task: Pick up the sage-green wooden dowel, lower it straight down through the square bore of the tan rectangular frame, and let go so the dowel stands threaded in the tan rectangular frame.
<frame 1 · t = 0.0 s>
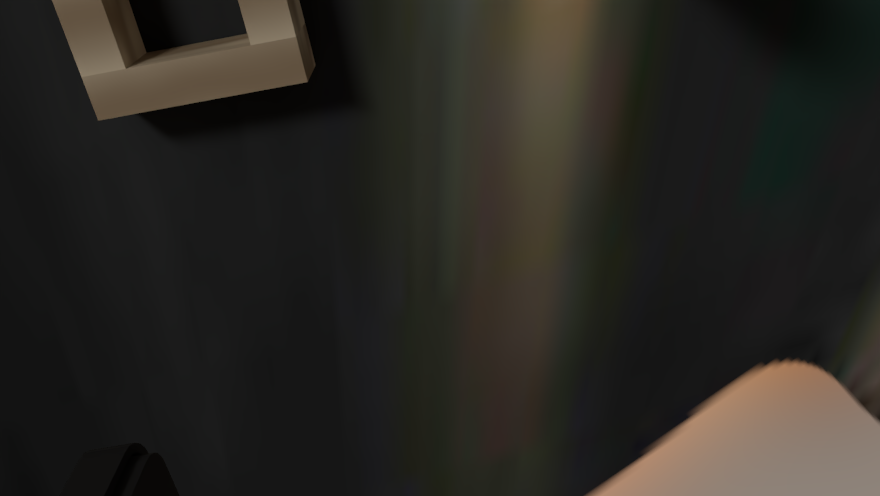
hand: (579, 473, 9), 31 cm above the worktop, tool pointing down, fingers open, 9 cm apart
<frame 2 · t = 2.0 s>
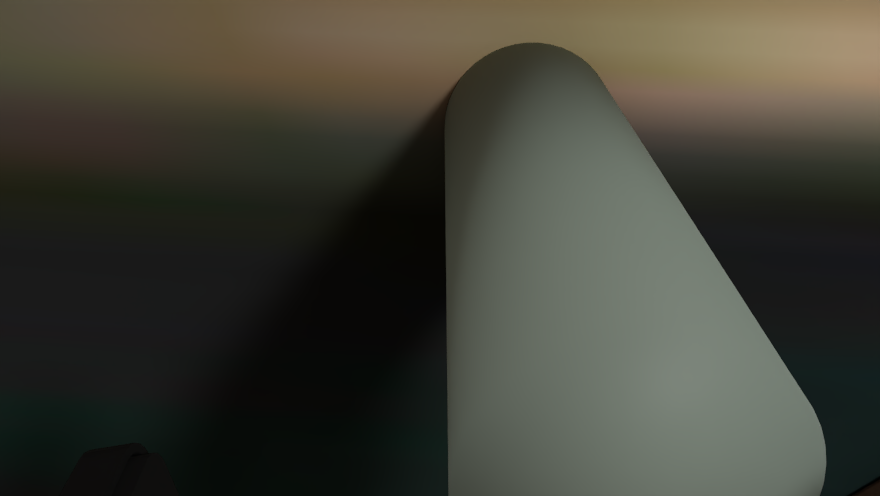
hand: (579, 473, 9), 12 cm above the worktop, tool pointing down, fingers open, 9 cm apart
dowel: (528, 126, 19), on the worktop
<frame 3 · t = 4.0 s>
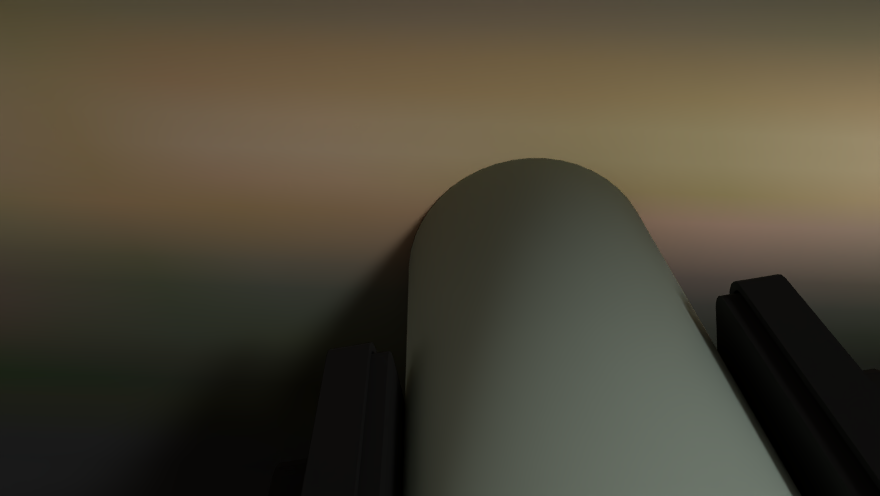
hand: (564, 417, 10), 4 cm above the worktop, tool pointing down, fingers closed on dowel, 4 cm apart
dowel: (528, 271, 14), on the worktop, touching gripper
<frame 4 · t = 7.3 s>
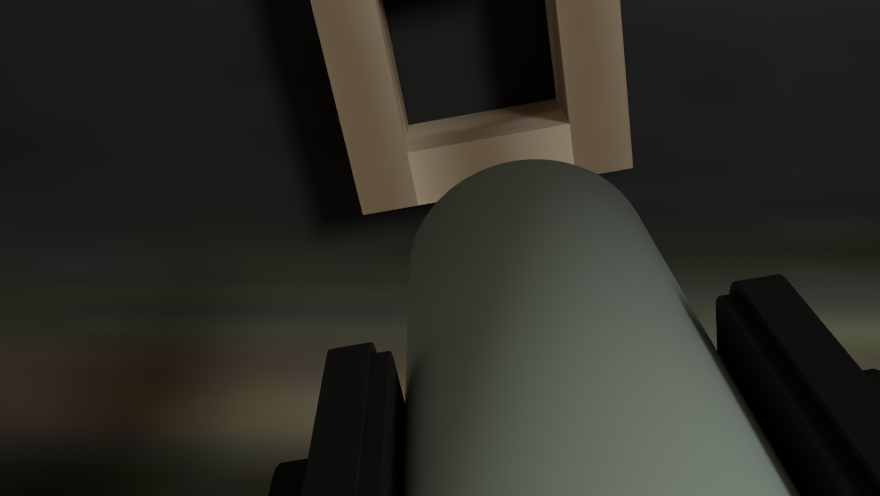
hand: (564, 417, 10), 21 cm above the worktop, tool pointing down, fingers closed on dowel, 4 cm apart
tan rectangular frame: (469, 37, 29), on the worktop
dowel: (528, 272, 14), point 17 cm above the worktop, touching gripper
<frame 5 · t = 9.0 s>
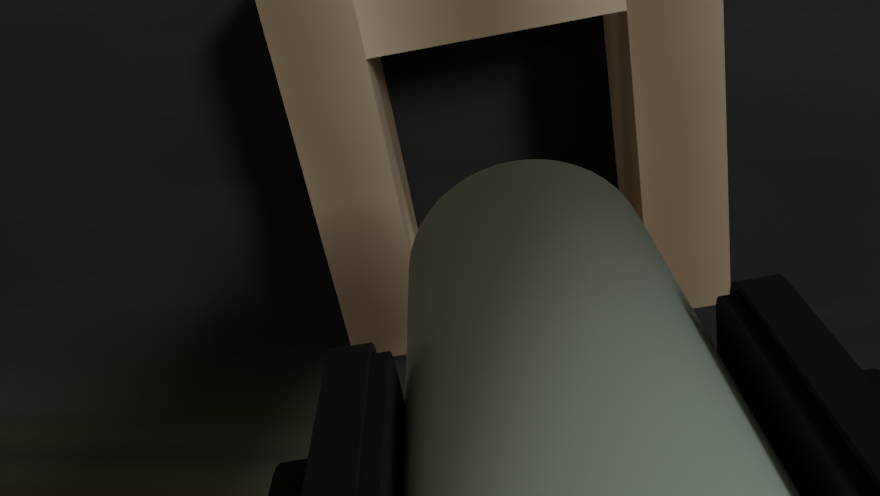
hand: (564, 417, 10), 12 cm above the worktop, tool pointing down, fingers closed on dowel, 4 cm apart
tan rectangular frame: (502, 117, 21), on the worktop
dowel: (528, 272, 14), point 9 cm above the worktop, touching gripper
when the fingers open (5 cm above the worktop, at t = 10.6 s): dowel drops 1 cm, resting in tan rectangular frame.
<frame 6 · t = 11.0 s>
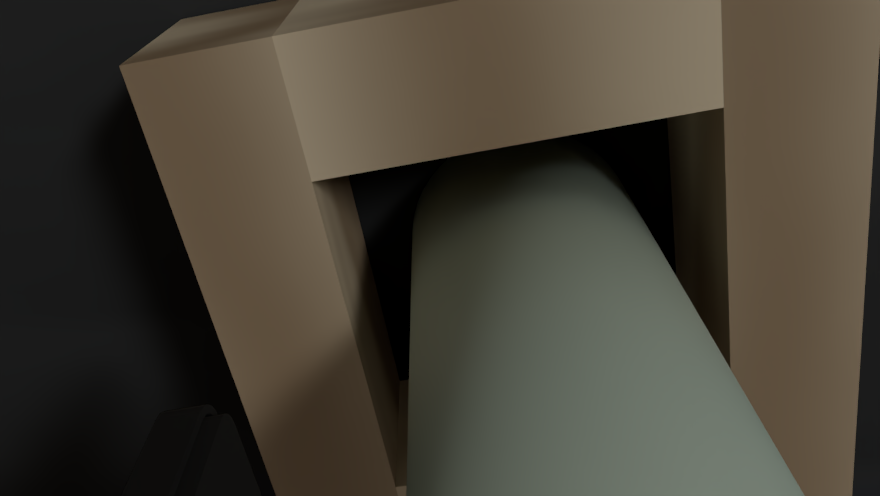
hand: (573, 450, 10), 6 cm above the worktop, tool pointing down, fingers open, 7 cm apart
tan rectangular frame: (518, 233, 15), on the worktop
dowel: (521, 233, 15), resting in tan rectangular frame
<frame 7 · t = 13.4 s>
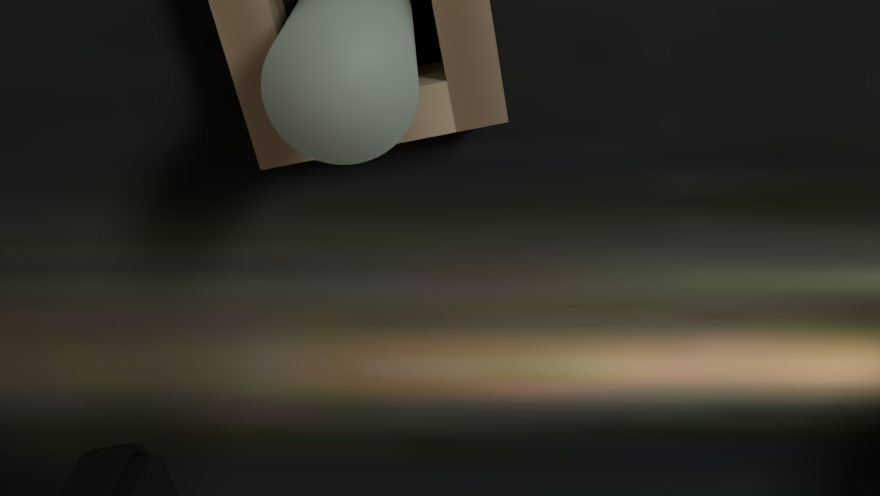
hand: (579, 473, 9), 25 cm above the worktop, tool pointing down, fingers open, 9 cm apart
tan rectangular frame: (358, 4, 31), on the worktop
dowel: (359, 4, 31), resting in tan rectangular frame
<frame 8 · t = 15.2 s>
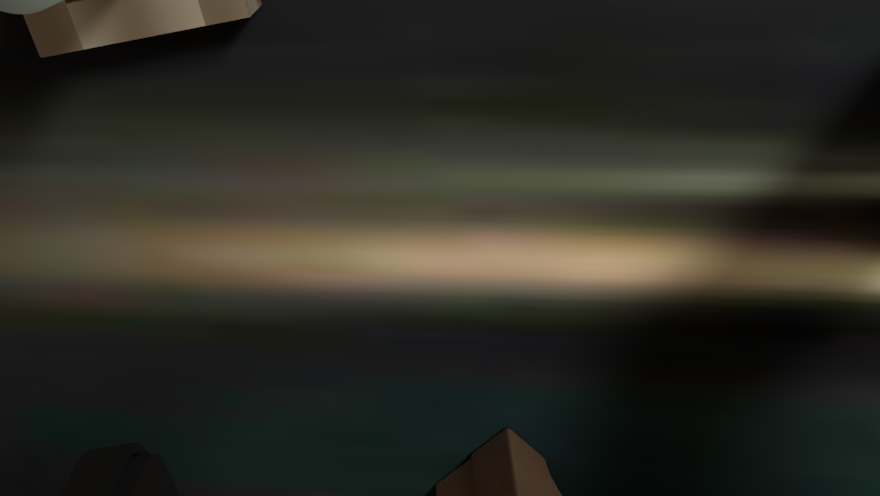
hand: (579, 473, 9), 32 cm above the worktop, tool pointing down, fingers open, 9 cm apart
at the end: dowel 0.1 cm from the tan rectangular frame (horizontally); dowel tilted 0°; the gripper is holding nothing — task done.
